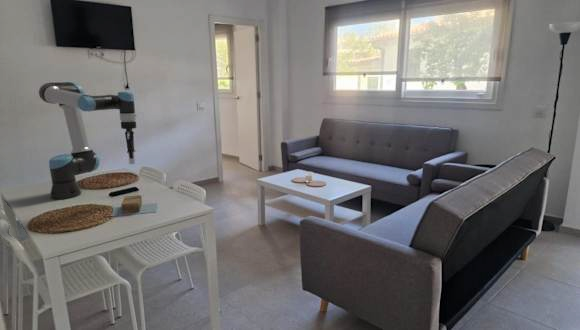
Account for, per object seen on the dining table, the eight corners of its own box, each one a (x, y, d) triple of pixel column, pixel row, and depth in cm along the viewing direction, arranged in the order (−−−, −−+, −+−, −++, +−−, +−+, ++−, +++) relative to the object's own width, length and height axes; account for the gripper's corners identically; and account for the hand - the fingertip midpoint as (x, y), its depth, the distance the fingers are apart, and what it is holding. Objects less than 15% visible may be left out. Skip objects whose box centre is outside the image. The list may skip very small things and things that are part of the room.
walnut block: (124, 196, 192) (121, 204, 179) (141, 195, 194) (138, 202, 182) (125, 205, 193) (122, 213, 181) (142, 203, 195) (139, 212, 183)
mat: (109, 207, 190) (109, 207, 190) (157, 203, 196) (157, 203, 196) (103, 217, 176) (103, 216, 176) (156, 212, 183) (156, 211, 183)
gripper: (134, 122, 190) (138, 166, 195) (137, 119, 202) (140, 160, 207) (118, 122, 188) (123, 166, 193) (122, 119, 200) (126, 161, 205)
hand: (132, 163), depth 200 cm, fingers closed
